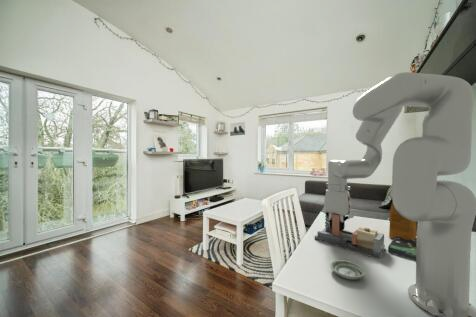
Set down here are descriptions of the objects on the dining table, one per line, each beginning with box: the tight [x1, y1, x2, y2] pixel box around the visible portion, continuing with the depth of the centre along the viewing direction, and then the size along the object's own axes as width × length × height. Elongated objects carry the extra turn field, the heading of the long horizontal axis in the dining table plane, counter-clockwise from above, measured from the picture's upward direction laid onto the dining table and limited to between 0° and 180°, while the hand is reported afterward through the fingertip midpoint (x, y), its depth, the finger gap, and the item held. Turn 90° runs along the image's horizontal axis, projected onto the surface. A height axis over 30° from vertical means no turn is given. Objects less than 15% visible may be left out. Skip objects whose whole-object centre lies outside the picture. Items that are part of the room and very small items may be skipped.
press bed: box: [314, 226, 386, 259], centre depth 86 cm, size 11×24×6 cm, turn 44°
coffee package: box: [388, 201, 419, 241], centre depth 91 cm, size 10×12×22 cm
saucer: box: [329, 259, 366, 280], centre depth 64 cm, size 10×10×2 cm
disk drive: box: [387, 236, 417, 261], centre depth 79 cm, size 10×3×15 cm
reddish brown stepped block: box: [332, 213, 358, 245], centre depth 86 cm, size 7×10×10 cm
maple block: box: [356, 226, 378, 249], centre depth 81 cm, size 5×6×7 cm
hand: (336, 228), depth 89 cm, fingers closed on reddish brown stepped block, 3 cm apart
